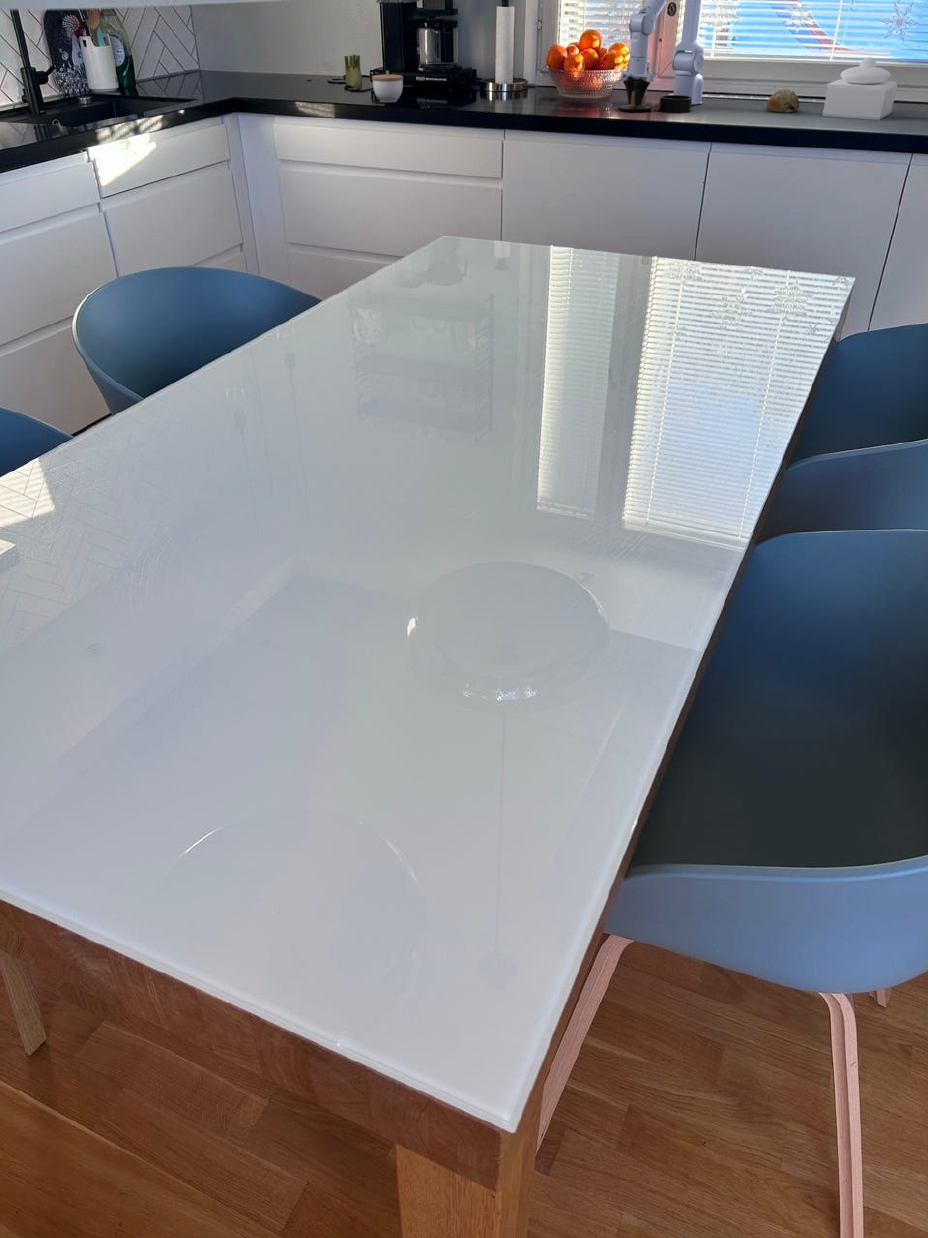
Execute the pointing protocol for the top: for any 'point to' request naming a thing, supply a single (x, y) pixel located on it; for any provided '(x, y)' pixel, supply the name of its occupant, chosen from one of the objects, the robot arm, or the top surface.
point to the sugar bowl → (388, 87)
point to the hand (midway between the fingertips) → (634, 104)
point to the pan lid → (634, 108)
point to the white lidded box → (861, 93)
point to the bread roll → (783, 102)
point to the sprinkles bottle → (646, 89)
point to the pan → (675, 104)
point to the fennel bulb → (353, 72)
